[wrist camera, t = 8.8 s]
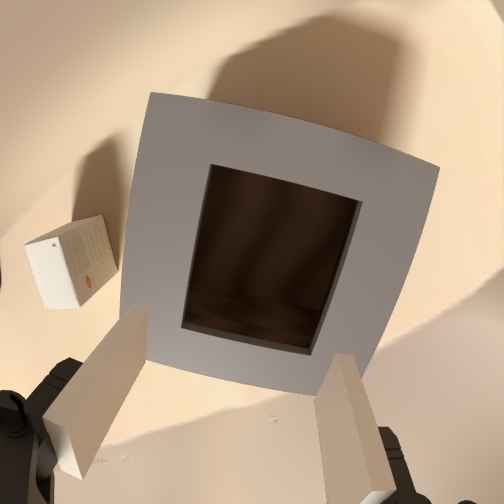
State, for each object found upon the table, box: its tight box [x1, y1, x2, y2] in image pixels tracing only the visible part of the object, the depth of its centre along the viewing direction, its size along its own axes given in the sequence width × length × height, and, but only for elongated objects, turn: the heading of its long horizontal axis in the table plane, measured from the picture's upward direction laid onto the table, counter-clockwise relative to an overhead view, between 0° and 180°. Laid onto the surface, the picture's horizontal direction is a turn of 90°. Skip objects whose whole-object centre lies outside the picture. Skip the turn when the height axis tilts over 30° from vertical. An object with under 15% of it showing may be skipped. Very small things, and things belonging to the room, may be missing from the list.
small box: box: [24, 215, 118, 309], centre depth 34 cm, size 8×6×10 cm
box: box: [119, 92, 440, 396], centre depth 29 cm, size 20×20×16 cm
